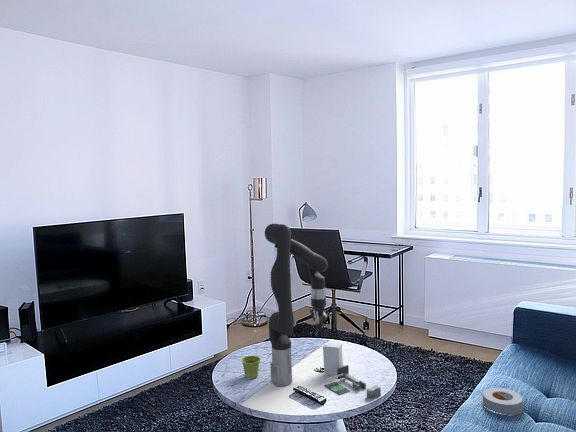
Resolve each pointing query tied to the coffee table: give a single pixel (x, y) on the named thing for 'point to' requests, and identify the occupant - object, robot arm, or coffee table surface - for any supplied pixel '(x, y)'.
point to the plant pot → (251, 366)
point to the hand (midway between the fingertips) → (319, 330)
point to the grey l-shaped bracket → (345, 375)
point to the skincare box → (332, 358)
